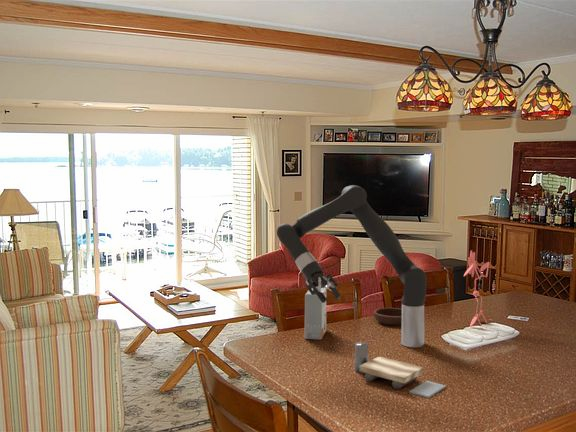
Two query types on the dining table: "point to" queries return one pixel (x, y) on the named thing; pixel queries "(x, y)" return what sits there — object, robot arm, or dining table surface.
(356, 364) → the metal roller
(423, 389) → the slate-grey pad
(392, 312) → the dish
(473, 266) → the figurine
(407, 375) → the birch slab
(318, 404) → the dining table surface
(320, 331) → the hard drive box
